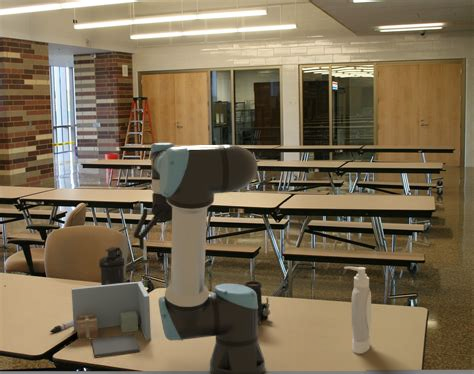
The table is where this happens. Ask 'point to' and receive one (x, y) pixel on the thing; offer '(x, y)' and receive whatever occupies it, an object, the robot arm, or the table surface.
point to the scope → (259, 301)
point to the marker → (62, 326)
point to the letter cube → (87, 326)
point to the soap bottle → (360, 311)
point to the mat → (115, 345)
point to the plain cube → (129, 321)
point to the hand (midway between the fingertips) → (166, 257)
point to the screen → (113, 304)
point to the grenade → (112, 267)
